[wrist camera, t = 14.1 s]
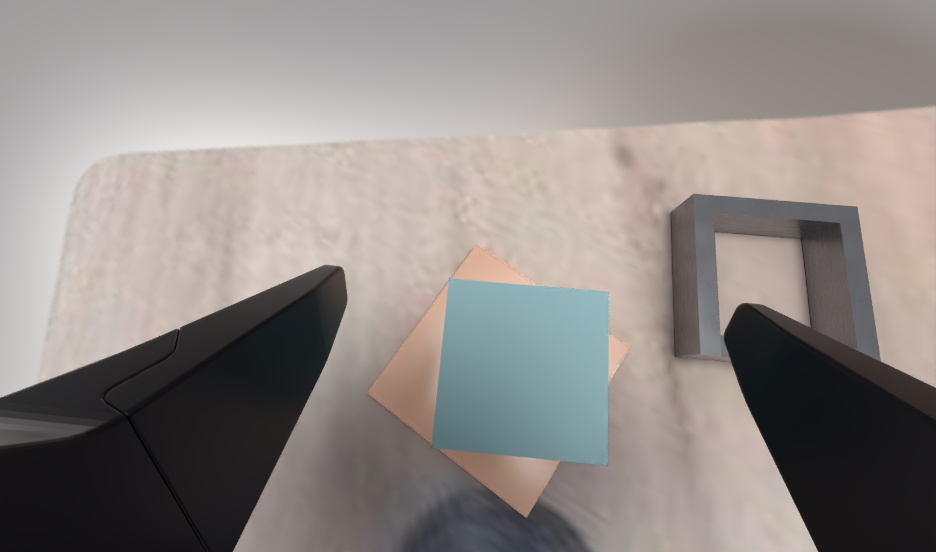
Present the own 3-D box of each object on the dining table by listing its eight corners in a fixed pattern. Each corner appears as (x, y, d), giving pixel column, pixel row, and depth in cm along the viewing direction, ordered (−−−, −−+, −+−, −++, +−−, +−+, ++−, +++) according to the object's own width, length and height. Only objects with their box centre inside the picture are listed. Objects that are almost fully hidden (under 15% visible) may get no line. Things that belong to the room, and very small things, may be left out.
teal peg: (540, 419, 20) (608, 466, 10) (453, 410, 20) (431, 447, 10) (544, 331, 21) (608, 292, 11) (461, 323, 21) (449, 278, 11)
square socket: (835, 371, 21) (882, 371, 19) (675, 356, 22) (700, 354, 19) (817, 224, 23) (857, 206, 21) (670, 212, 24) (693, 193, 21)
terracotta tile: (524, 512, 20) (526, 518, 19) (370, 392, 21) (366, 393, 21) (624, 348, 22) (630, 347, 21) (476, 248, 23) (476, 244, 22)
